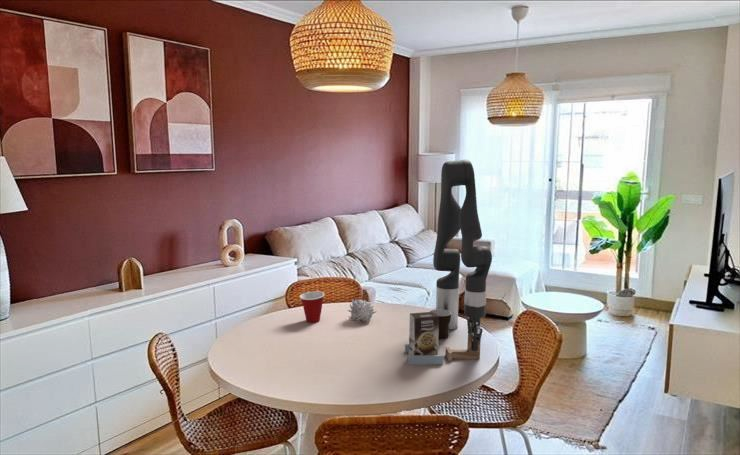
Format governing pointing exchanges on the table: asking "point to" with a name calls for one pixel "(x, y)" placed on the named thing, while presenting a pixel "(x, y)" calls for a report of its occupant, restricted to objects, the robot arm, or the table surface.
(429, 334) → the coffee box
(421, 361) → the acrylic channel
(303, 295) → the plastic cup
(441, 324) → the coffee mug
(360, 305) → the sea urchin
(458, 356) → the wooden t-shaped piece
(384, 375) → the table surface
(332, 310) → the table surface
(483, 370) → the table surface
